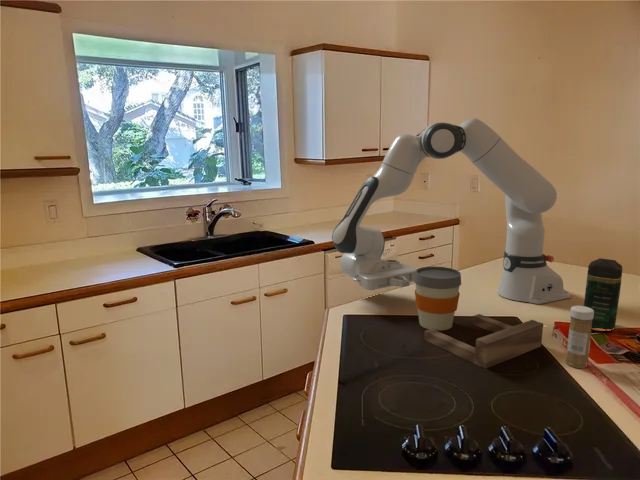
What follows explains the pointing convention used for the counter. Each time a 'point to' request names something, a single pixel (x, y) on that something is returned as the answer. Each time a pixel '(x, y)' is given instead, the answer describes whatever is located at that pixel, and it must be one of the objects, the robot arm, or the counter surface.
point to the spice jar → (579, 336)
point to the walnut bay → (492, 341)
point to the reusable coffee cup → (437, 296)
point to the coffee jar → (603, 291)
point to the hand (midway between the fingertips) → (406, 284)
